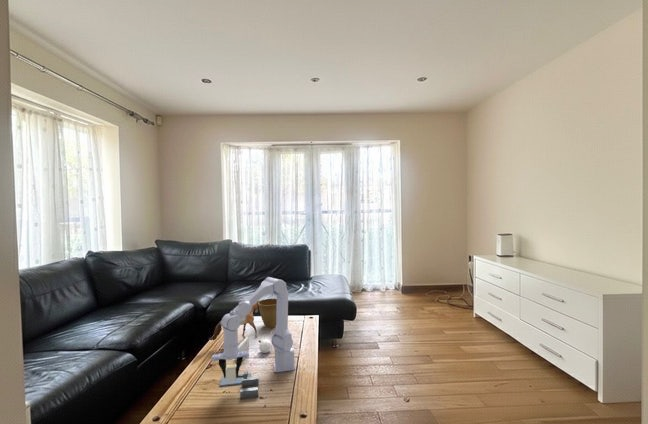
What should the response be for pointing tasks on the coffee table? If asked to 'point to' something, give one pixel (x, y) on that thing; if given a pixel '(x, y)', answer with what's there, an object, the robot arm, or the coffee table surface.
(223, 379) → the mat
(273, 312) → the plant pot
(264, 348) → the ornament
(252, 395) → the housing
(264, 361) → the coffee table surface
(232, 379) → the wall lamp
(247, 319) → the horse figurine
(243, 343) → the white wedge bracket
